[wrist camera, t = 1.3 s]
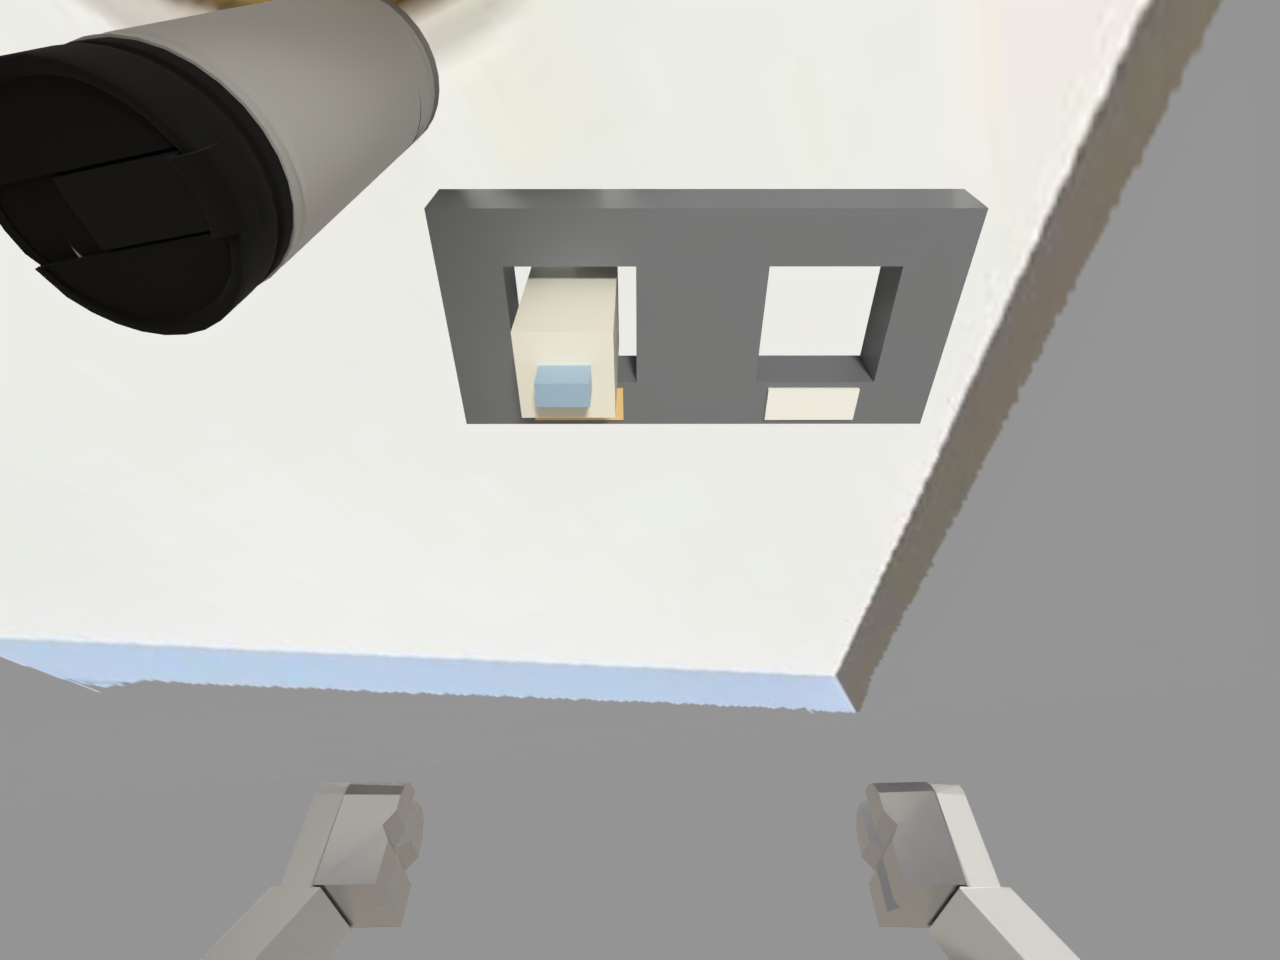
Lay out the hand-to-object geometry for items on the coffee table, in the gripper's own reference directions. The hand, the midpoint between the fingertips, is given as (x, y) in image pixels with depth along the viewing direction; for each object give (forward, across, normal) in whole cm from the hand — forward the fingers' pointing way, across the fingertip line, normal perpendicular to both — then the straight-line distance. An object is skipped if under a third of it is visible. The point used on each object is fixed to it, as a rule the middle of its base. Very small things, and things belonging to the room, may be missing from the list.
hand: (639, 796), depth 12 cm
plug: (+29, +3, +4) cm, 30 cm away
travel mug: (+29, +12, -7) cm, 32 cm away
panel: (+29, -3, +4) cm, 30 cm away
